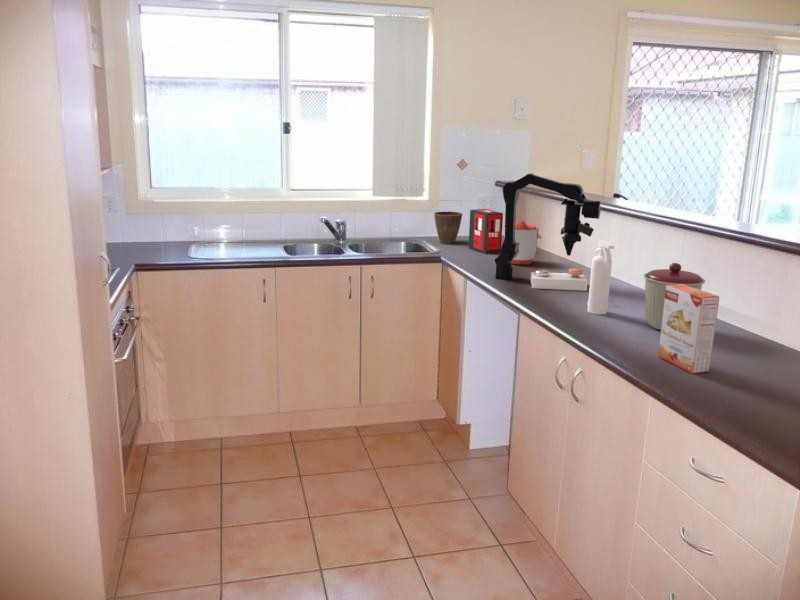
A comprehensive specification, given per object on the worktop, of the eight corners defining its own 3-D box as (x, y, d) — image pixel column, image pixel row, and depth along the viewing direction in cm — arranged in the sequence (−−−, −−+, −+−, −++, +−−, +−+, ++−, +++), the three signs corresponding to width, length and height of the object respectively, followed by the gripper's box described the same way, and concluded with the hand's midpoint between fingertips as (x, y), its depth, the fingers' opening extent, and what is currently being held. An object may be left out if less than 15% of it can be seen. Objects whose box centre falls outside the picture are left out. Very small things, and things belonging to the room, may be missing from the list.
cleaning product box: (500, 253, 342) (503, 213, 337) (485, 254, 338) (487, 213, 333) (483, 247, 356) (485, 209, 351) (468, 248, 352) (470, 209, 347)
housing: (532, 288, 269) (532, 278, 268) (530, 281, 280) (530, 271, 279) (586, 290, 266) (587, 280, 265) (582, 283, 278) (583, 274, 277)
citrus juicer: (542, 266, 310) (545, 222, 305) (504, 265, 311) (506, 222, 306) (536, 260, 326) (539, 218, 321) (500, 259, 326) (502, 217, 321)
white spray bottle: (598, 305, 244) (603, 236, 236) (613, 316, 232) (620, 243, 225) (580, 306, 242) (585, 237, 235) (594, 317, 231) (600, 244, 224)
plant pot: (447, 246, 357) (448, 215, 353) (427, 242, 368) (428, 212, 364) (466, 243, 367) (468, 213, 363) (446, 239, 378) (447, 210, 374)
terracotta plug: (568, 284, 270) (569, 271, 269) (566, 281, 275) (567, 268, 274) (582, 284, 269) (584, 271, 268) (581, 281, 275) (582, 268, 273)
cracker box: (656, 357, 191) (665, 284, 185) (674, 355, 192) (683, 283, 187) (691, 374, 178) (701, 296, 173) (710, 372, 180) (721, 295, 174)
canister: (685, 320, 228) (693, 258, 222) (708, 336, 210) (717, 269, 205) (631, 319, 228) (637, 257, 223) (648, 335, 211) (656, 268, 205)
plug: (534, 285, 272) (535, 272, 270) (533, 282, 277) (534, 269, 276) (549, 286, 271) (550, 273, 270) (547, 282, 276) (548, 270, 275)
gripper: (596, 221, 260) (592, 261, 264) (590, 214, 278) (586, 252, 282) (566, 219, 261) (562, 259, 265) (562, 213, 279) (558, 250, 283)
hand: (568, 255), depth 274 cm, fingers closed
